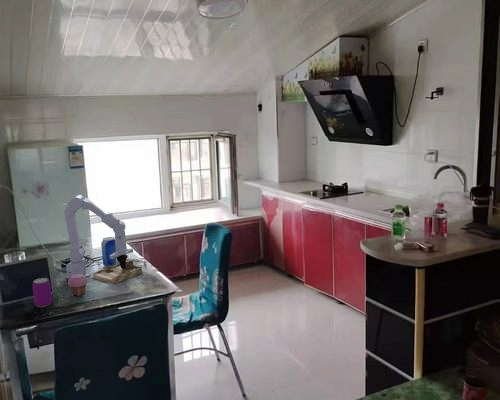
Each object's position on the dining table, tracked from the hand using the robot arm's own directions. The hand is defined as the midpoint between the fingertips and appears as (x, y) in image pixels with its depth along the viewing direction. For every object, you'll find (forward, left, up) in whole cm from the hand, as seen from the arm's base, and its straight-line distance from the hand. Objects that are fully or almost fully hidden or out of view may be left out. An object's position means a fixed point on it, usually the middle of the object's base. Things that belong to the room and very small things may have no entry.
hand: (122, 268), depth 272 cm
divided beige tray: (-4, 0, -3) cm, 5 cm away
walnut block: (+3, 0, -1) cm, 3 cm away
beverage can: (-49, -2, -3) cm, 49 cm away
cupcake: (-32, -5, -3) cm, 32 cm away
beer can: (+5, +17, -3) cm, 18 cm away
